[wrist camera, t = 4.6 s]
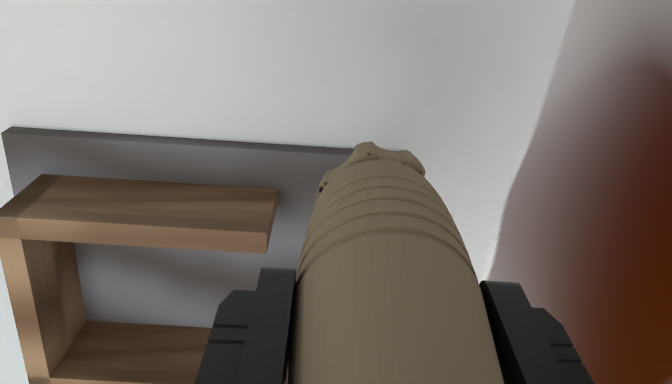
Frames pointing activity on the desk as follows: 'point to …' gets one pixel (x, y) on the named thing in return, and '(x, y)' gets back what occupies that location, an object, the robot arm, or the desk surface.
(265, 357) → the robot arm
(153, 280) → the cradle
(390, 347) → the handle
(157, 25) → the desk surface
